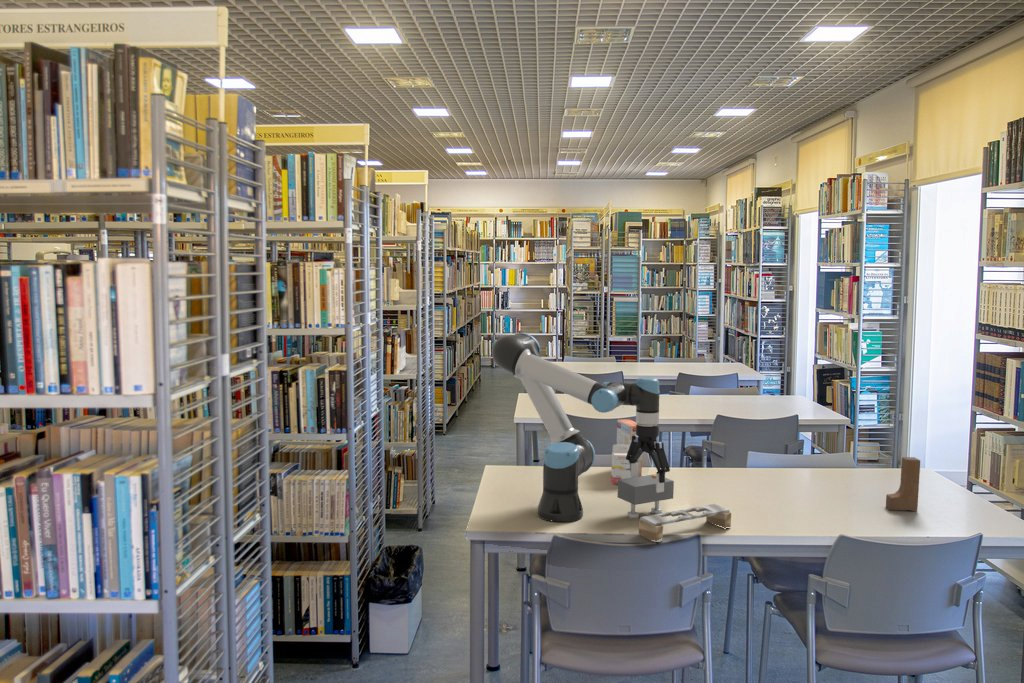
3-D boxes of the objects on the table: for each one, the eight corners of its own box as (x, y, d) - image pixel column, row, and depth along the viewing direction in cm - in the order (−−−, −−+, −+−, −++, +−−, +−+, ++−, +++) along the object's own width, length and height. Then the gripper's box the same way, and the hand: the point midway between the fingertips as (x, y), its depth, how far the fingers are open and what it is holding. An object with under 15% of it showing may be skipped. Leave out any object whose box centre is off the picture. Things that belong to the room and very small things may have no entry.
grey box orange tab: (634, 522, 244) (635, 485, 243) (617, 513, 252) (617, 477, 251) (672, 515, 251) (673, 479, 250) (654, 507, 260) (655, 472, 259)
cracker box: (642, 477, 298) (643, 425, 296) (628, 478, 297) (629, 425, 295) (629, 468, 311) (630, 418, 310) (615, 468, 310) (616, 419, 308)
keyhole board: (656, 543, 225) (656, 524, 224) (638, 534, 232) (639, 516, 232) (730, 528, 239) (731, 510, 238) (712, 520, 246) (712, 503, 246)
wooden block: (890, 510, 259) (893, 459, 257) (885, 506, 263) (888, 456, 261) (917, 511, 258) (920, 460, 256) (911, 507, 262) (914, 457, 261)
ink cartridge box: (612, 485, 287) (613, 447, 285) (610, 481, 292) (611, 444, 290) (635, 485, 287) (636, 447, 286) (632, 481, 292) (633, 444, 290)
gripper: (681, 429, 240) (680, 494, 242) (633, 417, 262) (633, 476, 264) (662, 432, 236) (662, 498, 238) (616, 419, 258) (615, 479, 260)
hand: (646, 487), depth 251 cm, fingers open, 13 cm apart
